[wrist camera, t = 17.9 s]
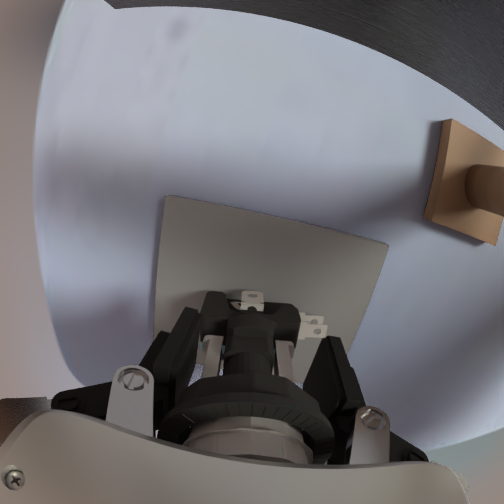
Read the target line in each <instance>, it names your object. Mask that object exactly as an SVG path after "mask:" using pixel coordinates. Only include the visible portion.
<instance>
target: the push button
mask: <svg viewBox="0 0 504 504" xmlns="http://www.w3.org/2000/svg"><path fill="white" fill-rule="evenodd" d="M248 295H256V296H257V297H255V298H251V297H249V296H248ZM200 314H202V321H201V328H200V349H201V350H202V351H203V353H205V354H206V358H205V363H204V367H203V371H202V376H201V379H199V380H198V381H196V382H195V383H193V384H192V385H190V386H189V387H187V388H185V389H184V390H182V391H181V393H180V395H179V399H178V402H177V406H176V407H174V408H173V409H172V410H170V411H169V412H168V413H167V414H166V415H165V416H164V418H163V420H162V422H161V424H160V427H159V431H158V434H157V438H158V439H161V440H165V441H168V442H172V443H175V444H179V445H183V446H187V447H191V448H195V449H199V450H204V451H208V452H213V453H218V454H223V455H229V456H235V457H241V458H247V459H254V460H262V461H271V462H281V463H295V464H315V465H324V464H325V463H326V462H327V460H328V459H329V458H330V457H331V455H332V453H333V451H334V448H335V436H334V432H333V429H332V426H331V423H330V422H329V420H328V419H327V418H326V417H325V416H324V415H323V414H322V413H321V412H320V407H319V403H318V402H317V400H315V399H314V398H313V397H311V396H310V395H309V394H307V393H306V392H305V391H303V390H302V389H301V388H299V387H298V386H297V385H296V384H295V380H294V375H293V369H292V363H291V359H292V358H293V357H294V353H295V348H296V344H297V339H303V340H305V337H315V338H324V337H325V336H326V332H327V328H328V326H327V325H326V324H323V320H324V317H323V316H316V315H305V312H299V311H298V309H297V308H296V307H294V305H292V304H288V303H274V302H264V299H263V293H262V292H259V291H247V290H245V291H242V298H241V300H236V299H227V298H226V294H225V293H223V292H218V291H209V292H207V294H206V296H205V299H204V302H203V305H202V308H201V311H200ZM313 319H316V320H317V321H318V322H317V324H311V323H310V322H311V320H313ZM314 329H321V332H320V333H318V334H315V333H314V332H313V331H314ZM221 360H224V364H223V375H222V376H219V372H220V366H221ZM273 365H274V375H272V371H273ZM190 426H191V427H190ZM302 429H303V431H302Z"/></svg>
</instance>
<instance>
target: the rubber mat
mask: <svg viewBox="0 0 504 504" xmlns="http://www.w3.org/2000/svg"><path fill="white" fill-rule="evenodd" d="M388 248H389V246H388V245H387V244H386V243H383V242H380V241H376V240H372V239H368V238H364V237H360V236H357V235H353V234H349V233H345V232H341V231H337V230H333V229H328V228H324V227H320V226H316V225H312V224H307V223H303V222H299V221H295V220H290V219H286V218H281V217H277V216H272V215H268V214H263V213H259V212H254V211H249V210H244V209H240V208H235V207H230V206H225V205H220V204H215V203H210V202H205V201H200V200H194V199H189V198H184V197H178V196H173V195H168V196H165V203H164V211H163V218H162V227H161V235H160V245H159V255H158V266H157V278H156V292H155V310H154V338H153V341H154V340H155V338H156V337H157V335H158V333H159V332H160V331H161V330H162V331H165V332H169V333H171V331H172V329H173V327H174V326H175V324H176V322H177V320H178V319H179V317H180V315H181V313H182V311H183V310H184V308H185V307H190V308H194V309H198V313H200V311H201V308H202V305H203V302H204V299H205V296H206V294H207V292H209V291H218V292H223V293H225V294H226V298H227V299H236V300H241V298H242V291H245V290H247V291H259V292H262V293H263V299H264V302H274V303H288V304H292V305H294V307H296V308H297V309H298V311H299V312H305V315H316V316H323V317H324V320H323V324H326V325H327V326H328V328H327V332H326V336H325V337H324V338H326V337H327V336H328V335H329V336H335V337H340V338H341V341H342V344H343V346H344V349H345V352H346V355H347V353H348V351H349V349H350V347H351V345H352V342H353V340H354V338H355V336H356V333H357V331H358V329H359V326H360V324H361V321H362V319H363V317H364V314H365V312H366V309H367V307H368V304H369V302H370V299H371V296H372V294H373V291H374V288H375V286H376V283H377V280H378V277H379V275H380V272H381V269H382V266H383V263H384V260H385V257H386V254H387V251H388ZM248 296H249V297H251V298H255V297H257V296H256V295H248ZM317 322H318V321H317V320H316V319H313V320H311V322H310V323H311V324H317ZM313 332H314V333H315V334H318V333H320V332H321V329H314V331H313ZM321 339H322V338H315V337H305V340H303V339H297V344H296V348H295V353H294V357H293V358H292V359H291V363H292V369H293V375H294V380H295V382H297V383H304V380H305V378H306V375H307V373H308V371H309V369H310V366H311V364H312V361H313V359H314V357H315V354H316V352H317V349H318V347H319V344H320V342H321ZM205 358H206V354H205V353H203V351H202V350H201V349H200V335H199V342H198V350H197V358H196V363H198V364H202V365H204V363H205ZM223 364H224V360H221V366H220V369H223ZM272 375H274V365H273V371H272Z"/></svg>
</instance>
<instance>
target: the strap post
mask: <svg viewBox="0 0 504 504" xmlns="http://www.w3.org/2000/svg"><path fill="white" fill-rule="evenodd" d="M503 217H504V151H503V150H502V149H500V148H499V147H497V146H496V145H494V144H493V143H491V142H490V141H488V140H487V139H485V138H484V137H482V136H481V135H479V134H477V133H476V132H474V131H473V130H471V129H469V128H468V127H466V126H464V125H462V124H461V123H459V122H457V121H455V120H454V119H447V120H443V123H442V131H441V137H440V144H439V150H438V155H437V161H436V166H435V171H434V176H433V180H432V185H431V189H430V194H429V198H428V202H427V206H426V209H425V213H424V217H423V218H425V219H427V220H430V221H432V222H435V223H438V224H440V225H443V226H446V227H449V228H451V229H454V230H457V231H459V232H462V233H464V234H467V235H469V236H472V237H475V238H477V239H479V240H482V241H484V242H487V243H489V244H491V245H494V246H495V245H496V242H497V239H498V235H499V232H500V228H501V224H502V220H503Z"/></svg>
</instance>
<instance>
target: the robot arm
mask: <svg viewBox="0 0 504 504" xmlns="http://www.w3.org/2000/svg"><path fill="white" fill-rule="evenodd" d="M201 321H202V314H200V313H198V309H194V308H190V307H185V308H184V310H183V311H182V313H181V315H180V317H179V319H178V320H177V322H176V324H175V326H174V327H173V329H172V331H171V333H169V332H165V331H162V330H161V331H160V332H159V333H158V335H157V337H156V338H155V340H154V341H153V343H152V345H151V346H150V348H149V350H148V351H147V353H146V354H145V356H144V358H143V359H142V361H141V363H140V364H139V366H137V365H127V366H123V367H121V368H119V369H118V370H117V371H116V372H115V374H114V376H113V381H112V382H107V383H102V384H98V385H93V386H88V387H82V388H77V389H72V390H66V391H62V392H59V393H58V394H56V395H55V396H54V397H53V399H51V400H47V398H46V397H34V398H5V399H1V400H0V504H471V503H470V501H469V498H468V495H467V491H468V488H469V482H468V479H467V478H466V477H465V476H464V475H463V474H461V473H459V472H457V471H454V470H452V469H450V468H449V467H447V466H444V465H441V464H438V463H436V462H434V461H431V462H429V460H428V458H427V456H426V454H425V453H424V452H423V451H421V450H420V449H418V448H417V447H415V446H413V445H412V444H410V443H408V442H407V441H405V440H403V439H402V438H400V437H399V436H397V435H395V434H394V433H392V432H391V431H390V423H389V418H388V417H387V415H386V414H385V413H384V412H383V411H382V410H380V409H378V408H376V407H371V406H366V405H365V401H364V398H363V395H362V392H361V389H360V386H359V383H358V380H357V377H356V374H355V371H354V369H353V368H352V367H350V364H349V361H348V358H347V355H346V352H345V349H344V346H343V344H342V341H341V338H340V337H335V336H329V335H328V336H327V337H326V338H322V339H321V342H320V344H319V347H318V349H317V352H316V354H315V357H314V359H313V361H312V364H311V366H310V369H309V371H308V373H307V375H306V378H305V380H304V383H303V391H305V392H306V393H307V394H309V395H310V396H311V397H313V398H314V399H315V400H317V402H318V403H319V407H320V412H321V413H322V414H323V415H324V416H325V417H326V418H327V419H328V420H329V422H330V423H331V426H332V429H333V432H334V436H335V448H334V451H333V453H332V455H331V457H330V458H329V459H328V460H327V462H326V463H325V464H324V465H315V464H295V463H281V462H271V461H262V460H254V459H247V458H241V457H235V456H229V455H223V454H218V453H213V452H208V451H204V450H199V449H195V448H191V447H187V446H183V445H179V444H175V443H172V442H168V441H165V440H161V439H158V438H156V430H159V427H160V424H161V422H162V420H163V418H164V416H165V415H166V414H167V413H168V412H169V411H170V410H172V409H173V408H174V407H176V406H177V402H178V399H179V395H180V393H181V391H182V390H184V389H185V388H187V387H188V385H189V382H190V379H191V376H192V373H193V371H194V368H195V364H196V358H197V350H198V342H199V335H200V328H201Z"/></svg>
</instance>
